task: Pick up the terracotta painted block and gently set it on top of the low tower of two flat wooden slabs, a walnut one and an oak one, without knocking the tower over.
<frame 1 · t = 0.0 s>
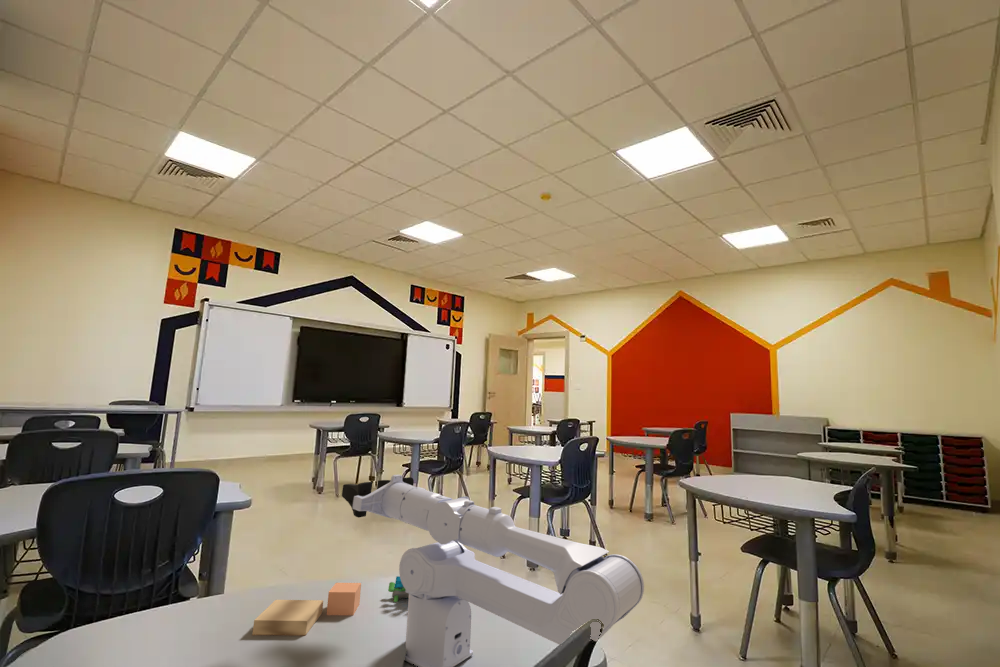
hand: (361, 488, 84), 22 cm above the table, tool horizontal, fingers open, 7 cm apart
gear: (416, 607, 86), on the table
tower base: (286, 637, 74), on the table, touching tower top
block: (342, 618, 80), on the table
tower top: (289, 623, 74), point 1 cm above the table, touching tower base
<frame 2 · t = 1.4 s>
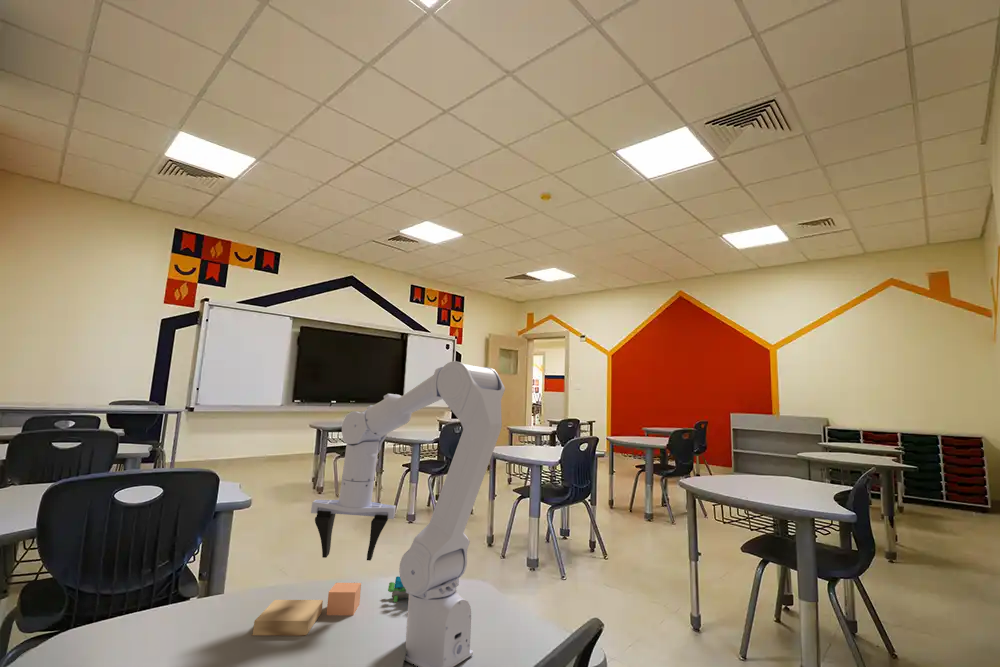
hand: (347, 557, 82), 10 cm above the table, tool pointing down, fingers open, 7 cm apart
nothing on the table moved.
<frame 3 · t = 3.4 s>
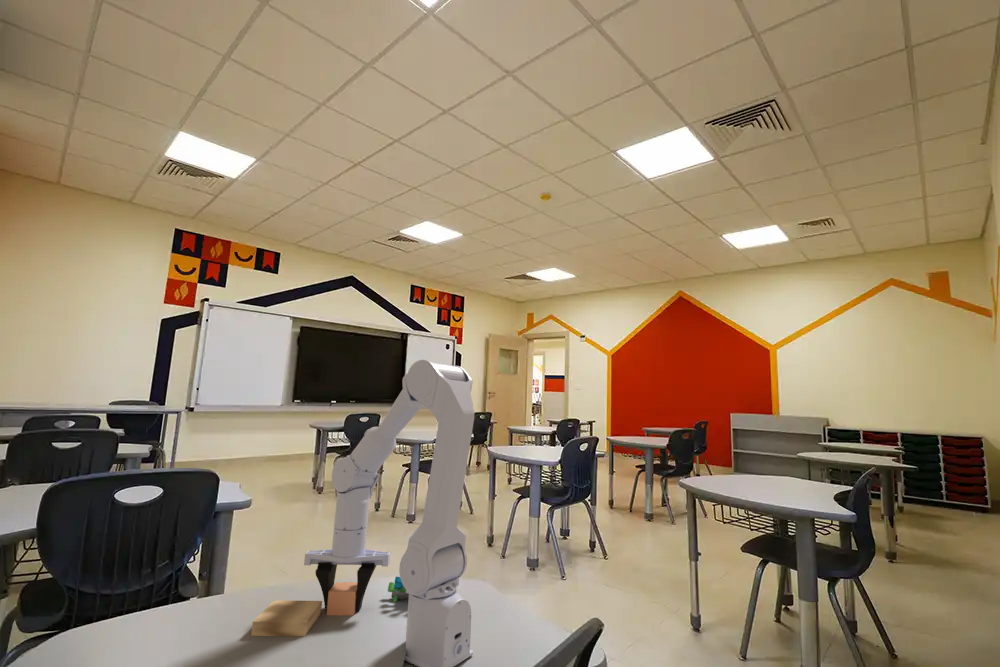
hand: (343, 608, 80), 1 cm above the table, tool pointing down, fingers closed on block, 4 cm apart
block: (342, 617, 80), on the table, touching gripper
everything else where it was.
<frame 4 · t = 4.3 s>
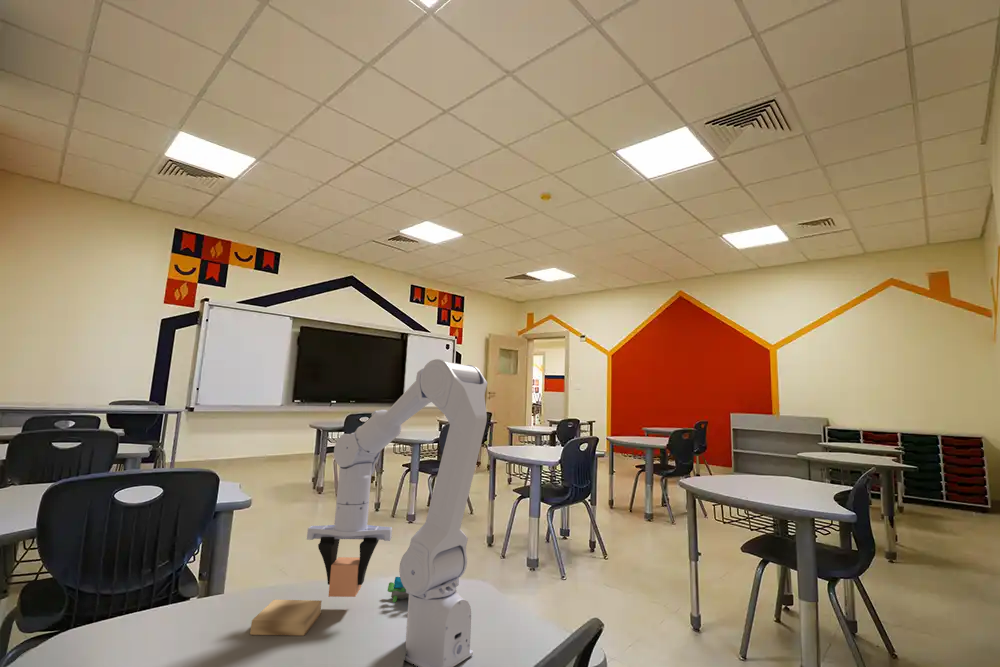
hand: (346, 582, 81), 6 cm above the table, tool pointing down, fingers closed on block, 4 cm apart
block: (345, 591, 80), point 4 cm above the table, touching gripper
everything else where it was.
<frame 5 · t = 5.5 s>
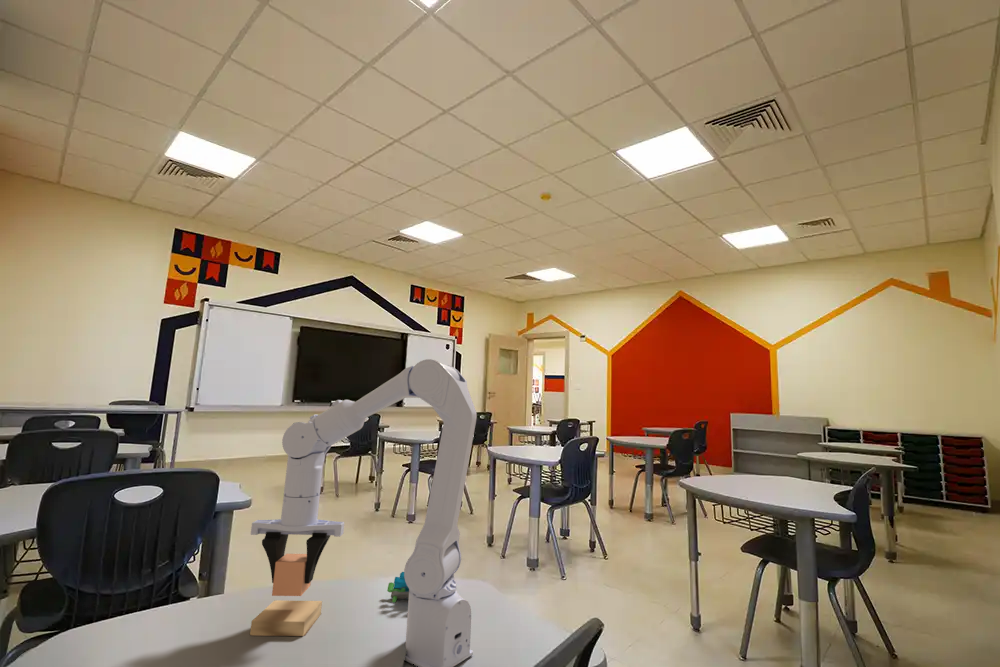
hand: (292, 581, 75), 8 cm above the table, tool pointing down, fingers closed on block, 4 cm apart
block: (291, 590, 75), point 6 cm above the table, touching gripper
everything else where it was.
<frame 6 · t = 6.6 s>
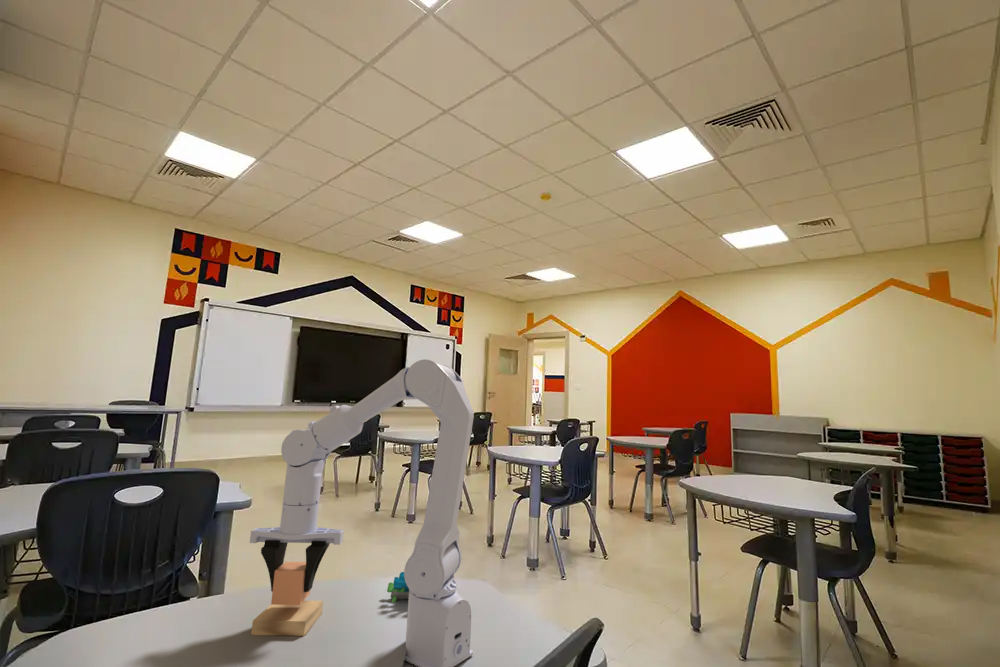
hand: (291, 589, 75), 6 cm above the table, tool pointing down, fingers closed on block, 4 cm apart
block: (291, 599, 75), point 5 cm above the table, touching gripper
everything else where it was.
when the fingers open (6 cm above the table, at t = 6.6 s): block drops 2 cm, resting on tower top.
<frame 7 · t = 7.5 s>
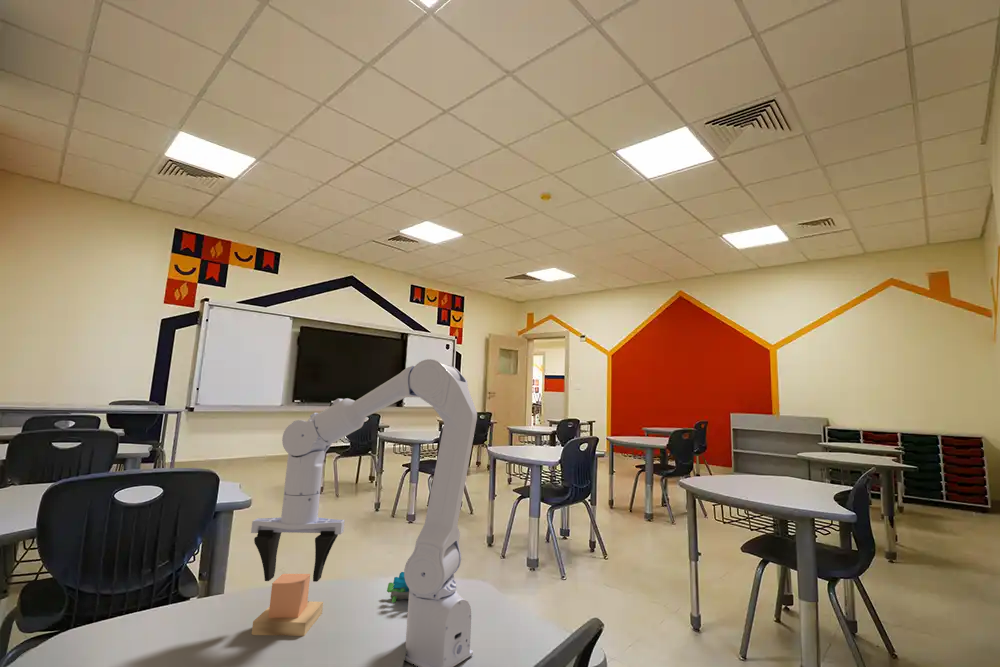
hand: (293, 579, 75), 8 cm above the table, tool pointing down, fingers open, 7 cm apart
block: (288, 611, 74), point 3 cm above the table, touching tower top
tower top: (288, 624, 74), point 1 cm above the table, touching block, tower base
everything else where it was.
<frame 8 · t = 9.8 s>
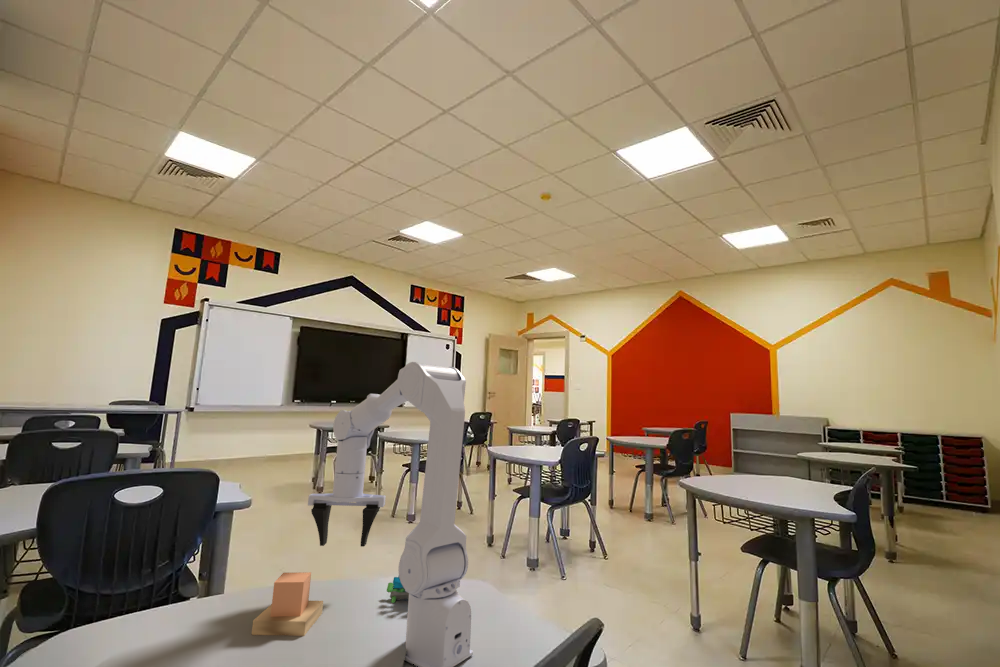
hand: (343, 544, 89), 10 cm above the table, tool pointing down, fingers open, 7 cm apart
nothing on the table moved.
at the end: block 0.1 cm off-centre on the tower top, point 2.1 cm above the tower top's base; block tilted 1°; tower top moved 0.9 cm from its start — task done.
